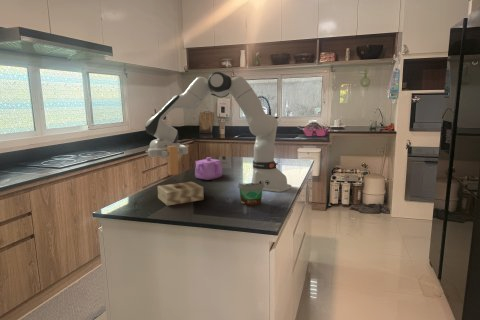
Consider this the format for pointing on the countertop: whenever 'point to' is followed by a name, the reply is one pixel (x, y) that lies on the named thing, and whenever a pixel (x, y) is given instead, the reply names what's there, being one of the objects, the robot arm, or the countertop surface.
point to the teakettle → (208, 169)
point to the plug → (172, 160)
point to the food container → (251, 193)
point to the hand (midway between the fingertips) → (173, 153)
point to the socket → (180, 193)
